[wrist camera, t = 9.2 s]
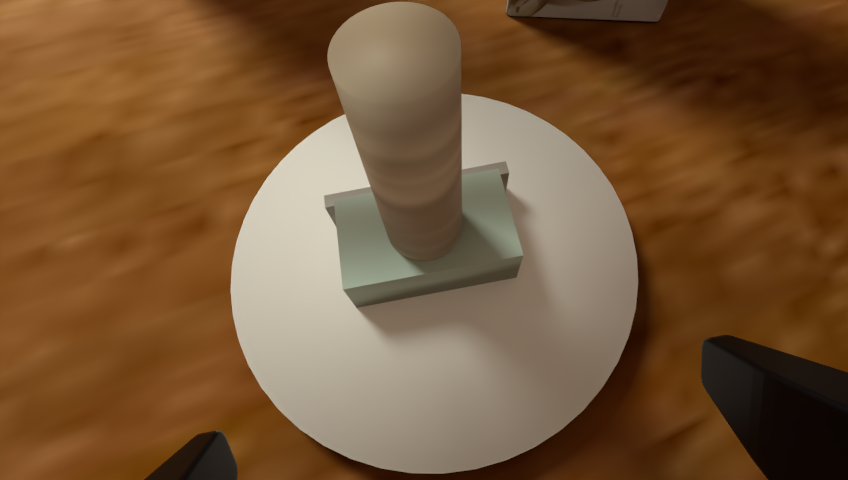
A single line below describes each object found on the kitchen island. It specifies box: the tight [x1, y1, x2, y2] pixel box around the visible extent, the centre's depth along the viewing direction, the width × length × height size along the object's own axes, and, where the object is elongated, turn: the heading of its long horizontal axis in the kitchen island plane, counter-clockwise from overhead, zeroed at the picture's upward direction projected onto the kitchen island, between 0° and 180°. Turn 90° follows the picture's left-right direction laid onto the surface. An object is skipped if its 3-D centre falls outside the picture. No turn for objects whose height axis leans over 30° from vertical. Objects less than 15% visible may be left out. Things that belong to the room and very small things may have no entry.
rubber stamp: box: [324, 2, 523, 308], centre depth 16 cm, size 5×8×12 cm, turn 100°
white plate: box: [231, 94, 638, 474], centre depth 21 cm, size 18×18×2 cm
